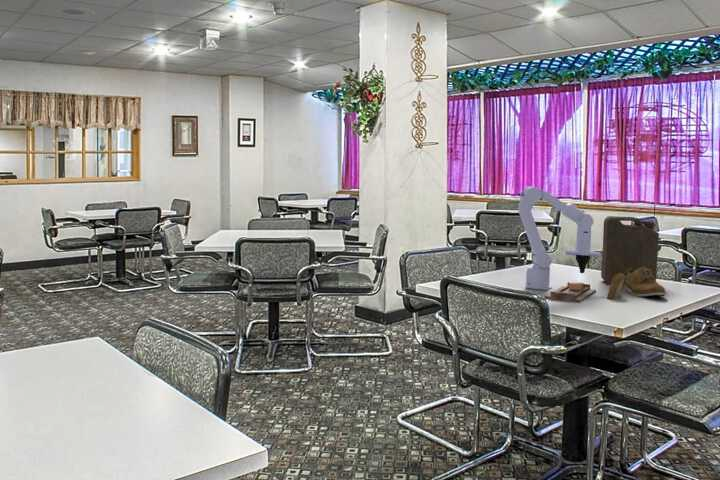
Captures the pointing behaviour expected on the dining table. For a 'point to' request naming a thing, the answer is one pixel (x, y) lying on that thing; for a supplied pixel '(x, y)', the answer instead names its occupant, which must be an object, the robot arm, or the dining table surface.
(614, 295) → the rock
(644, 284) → the oxford shoe
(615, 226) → the container
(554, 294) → the slider track
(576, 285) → the slider knob
